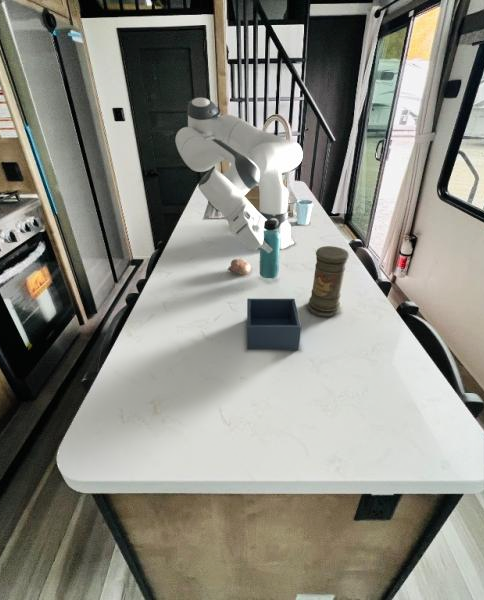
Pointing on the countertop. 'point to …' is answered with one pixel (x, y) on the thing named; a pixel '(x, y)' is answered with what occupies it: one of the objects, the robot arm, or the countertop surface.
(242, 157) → the robot arm
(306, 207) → the cup
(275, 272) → the beverage bottle
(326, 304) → the container
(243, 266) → the beige lumpy piece
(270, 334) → the tote
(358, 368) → the countertop surface
